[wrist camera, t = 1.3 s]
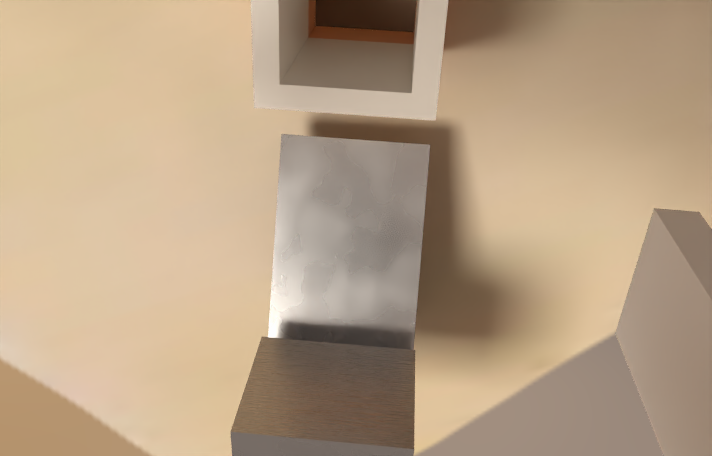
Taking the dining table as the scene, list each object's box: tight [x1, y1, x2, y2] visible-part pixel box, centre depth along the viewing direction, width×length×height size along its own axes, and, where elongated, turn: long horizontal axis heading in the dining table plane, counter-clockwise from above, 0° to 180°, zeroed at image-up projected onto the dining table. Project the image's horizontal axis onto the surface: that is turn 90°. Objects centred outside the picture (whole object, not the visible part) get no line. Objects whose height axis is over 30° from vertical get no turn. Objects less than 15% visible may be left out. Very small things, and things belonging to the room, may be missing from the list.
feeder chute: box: [231, 134, 430, 456], centre depth 27 cm, size 12×6×12 cm, turn 178°
